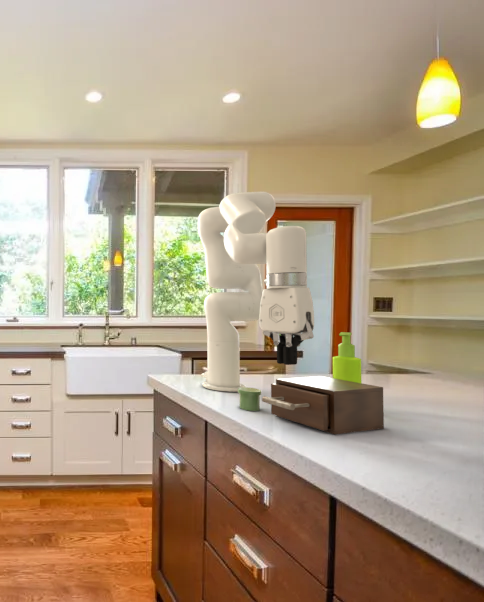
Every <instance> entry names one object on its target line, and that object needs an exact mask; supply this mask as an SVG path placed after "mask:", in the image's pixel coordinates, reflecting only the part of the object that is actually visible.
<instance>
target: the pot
mask: <svg viewBox="0 0 484 602" xmlns="http://www.w3.org/2000/svg"><path fill="white" fill-rule="evenodd" d="M237 393H238V395H239V396H238V397H239V399H238V400H239V403H238V404H239V408H240V409H241V410H244V411H249V412H259V411H260V410H261V409H260V408H261V403H260V402H261V400H260V398H261V396H262V390H261V389H259V388H256V387H246V386H245V387H241V388H238V392H237Z"/></svg>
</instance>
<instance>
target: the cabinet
mask: <svg viewBox="0 0 484 602" xmlns="http://www.w3.org/2000/svg"><path fill="white" fill-rule="evenodd" d="M275 384H279V385H283V384H286V385H291V386H295V387H300V388H304V389H309V390H313V391H318V392H322V393H327V394H330V411H331V427H328V430H321V429H318V428H315V427H311V426H308V425H305V424H302V423H299V422H296V421H292V420H289V419H286V418H283V417H280V416H277V415H275V416H276V417H278V418H281V419H284V420H288V421H291V422H294V423H297V424H300V425H303V426H306V427H309V428H312V429H316V430H319V431H322V432H324V433H327V434H331V435H335V436H337V435H343V434H350V433H359V432H368V431H374V430H375V431H376V430H383V429H385V428H384V427H385V424H384V423H385V419H384V415H385V414H384V413H385V412H384V411H385V410H384V386H380V385H379V386H378V385H374V384H367V383H363V382H361V383H357V382H351V381H346V380H340V379H335V378H333V377H327V376H322V375H317V376H316V375H314V376H301V377H285V378H276V379H275Z"/></svg>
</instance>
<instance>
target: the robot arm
mask: <svg viewBox="0 0 484 602" xmlns="http://www.w3.org/2000/svg"><path fill="white" fill-rule="evenodd" d="M276 205H277V204H276V199H275V197H274V196H273V194H271V193H269V192H267V191H243V192H233V193H230V194H227V195H226V196H224V197H223V198H222V199H221V200H220V203H219V205H218V206H213V207H208V208H206V209H203V210H202V211H201V212H200V213H199V215H198V217H197V233H198V236H199V239H200V242H201V244H202V247H203V250H204V260H205V273H206V282H207V284H208V286H209V287H210V288H212V289H218V290H241V291H217V292H212V293H209V294H208V295H207V296H206V297H205V298H204V302H203V308H204V309H203V311H204V316H205V321H206V343H207V344H206V349H207V350H206V351H207V353H206V354H207V357H206V358H207V359H206V361H207V362H206V363H207V366H206V367H207V370H206V371H204V372H202V373H201V374H200V376H201V377H202V378H205V381H203V382H202V387H203V388H205V389H208V390H212V391H218V392H230V393H234V392H237V393H238V388H241V387H246V385H245V384H242V383H241V370H240V369H241V368H240V367H241V363H240V362H241V361H240V359H241V358H240V357H241V355H240V353H241V351H240V349H241V347H240V333H239V331H238V329H237V328H236V327H235V326H234V325H233V323H232V322H255V321H259V323H258V324H259V329H260V330H261V331H262V334H263V335H264V336H266V337H268V338H270V339H271V341H272V342H273V345H274V346H276V363H277V364H279V365H284V366H285V365H286V366H292V365H293V366H295V365H297V364H298V347H301V344H302V343H303V342H304V341H306V340H312V339H313V338H314V337H315V336H314V333H313V332H314V330H315V329H314V328H315V311H314V310H315V309H314V303H313V296H312V292H311V290H310V287H308V274H307V273H308V269H307V268H308V264H307V262H308V261H307V254H308V253H307V231H306V228H304V227H302V226H300V225H287V226H286V225H284V226H278V227H274V228H272V229H269V231H267V232H262V230H264V228H265V225H266V224H267V223H266V222H268V221H269V220H270V219H271V218H272V217H273V215H274V213H275V211H276ZM221 233H224V234H223V235H222V234H221ZM259 265H266V267H265V268H266V269H265V270H266V271H265V272H266V274H265V275H266V278H264V280H263V279H262V273H261V269H260V267H259ZM262 280H263V282H262ZM263 283H264V285H266V288H264V289H263Z"/></svg>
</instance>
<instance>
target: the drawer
mask: <svg viewBox="0 0 484 602" xmlns="http://www.w3.org/2000/svg"><path fill="white" fill-rule="evenodd" d="M261 401H262V403H264V404H265V403H266V404H269V405H270V411H271V412H270V413H271V415H274V416H276V415H277V416H276V417H278V416H280V417H279V418H281V417H283V418H282V419H284V418H286V419H285V420H287V419H289V420H288V421H290V420H292V421H291V422H293V421H296V422H299V423H298V424H300V423H302V424H301V425H303V424H305V425H304V426H306V425H308V426H307V427H309V426H311V427H310V428H312V427H315V428H318V429H321V430H328V427H331V411H330V394H327V393H322V392H318V391H313V390H309V389H304V388H300V387H295V386H291V385H286V384H283V385H279V384H276V383H270V396H265V395H264V396H262V398H261ZM296 422H295V423H296ZM315 428H314V429H315ZM318 429H317V430H318ZM321 430H320V431H321Z"/></svg>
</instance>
